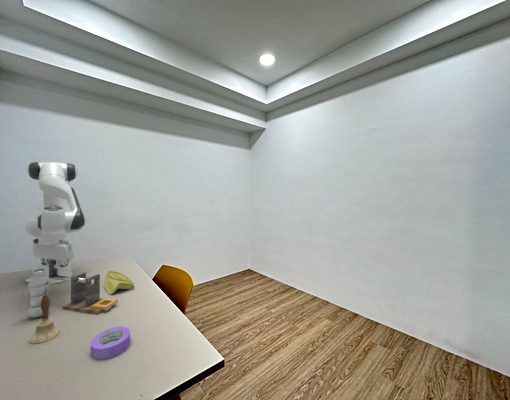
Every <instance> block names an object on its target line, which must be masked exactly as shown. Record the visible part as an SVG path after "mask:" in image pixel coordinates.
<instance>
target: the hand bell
mask: <svg viewBox="0 0 510 400" xmlns="http://www.w3.org/2000/svg"><path fill="white" fill-rule="evenodd" d="M40 306H41V310H42V316H41V321H39V322H38V323H37V324H36V329H35V332H34V334H33V335H31V337H30V338H29V339H28V343H29V344H32V345H33V344H34V345H35V344H36V345H37V344H42V343H45V342H48V341H50V340H53V339H54V338H56V337H57V336H58V335H59V334H60V332H61V330H60V329H59V328H58V327H56V326H55V324H54V323H55V322H54V319H51V318H49V312H48V309H49V306H50V307H51V299H50V297H49V293H48V294H44V295H43V297H42V299H41V303H40Z"/></svg>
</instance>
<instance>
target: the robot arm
mask: <svg viewBox="0 0 510 400" xmlns="http://www.w3.org/2000/svg"><path fill="white" fill-rule="evenodd" d="M26 171H27V174H28V176H29V177H30V178H31V179H32V180H35V181H38V187H39V190H41V191H42V192H43V193H42V195H43V197H42V198H43V202H42V203H43V208H42V212H41V214H39V215H38V216H35V217H31V218H29V219H28V220H27V221H26V223H25V226H24V228H25V231H26V232H27V233H28V234H30V235H31V236H32V237H35V238H33V239H32V244H33V246H32V254H33V257H34V258H39V259H40V265H38V266H36V267H35V268H34V269H33V270H32V271H31V276H30V277H27V278H26V279H25V281H26V283H28V282H30V280H31V279H32V278H33V277H34V276H33V271H34V270H38V269H45V272H46V274H45V275H46V276H47V277H48V278H49V261H50V260H56V265H54V268H58V275H61V276H69V277H72V276H74V272H72V265H71V262H70V260H72V259H74V248H73V245H72V243H71V242H70V241H69V240H67V238H66V234H71V233H75V232H79V231H81V230H83V228H84V226H85V224H86V217H85V215H84V213H83V210H82V208H81V204H80V202H79V199H78V197H77V194H76V191H75V189H74V188H73V187H72V186H69V184H70V182H72V181H73V180H75V179H76V177H77V176H78V170H77V167H76V165H74V164H73V163H70V162H67V163H66V162H57V161H53V162H52V161H49V162H47V161H46V162H45V161H44V162H43V161H41V162H39V161H35V162H34V161H33V162H31V163H29V164H28V167H27V170H26ZM67 182H68V183H67ZM49 280H50V283H49V285H53V284H57V283H62V282H66V281H65V280H57V279H51V278H49ZM25 281H24V282H25Z"/></svg>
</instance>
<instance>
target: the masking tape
mask: <svg viewBox="0 0 510 400" xmlns="http://www.w3.org/2000/svg"><path fill="white" fill-rule="evenodd" d="M114 340H116V341H114ZM110 341H113V342H111V343H107V342H110ZM105 343H106V344H105ZM130 344H131V329H130V328H129V327H126V326H114V327H110V328H108V329H105V330H103V331H101V332H99V333H98V334H96V335H95V336H94V337H93V338H92V340H91V341H90V356H91V357H92V358H93V359H97V360H105V359H109V358H112V357H115V356H117V355H119V354H121V353H123V352H124V351H125V350H126V349H127V348H128V347H129V346H130Z"/></svg>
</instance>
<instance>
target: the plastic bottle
mask: <svg viewBox="0 0 510 400" xmlns="http://www.w3.org/2000/svg"><path fill="white" fill-rule="evenodd" d="M33 270H34V269H33ZM33 270H32V271H33ZM45 274H46V272H45V269H38V270H34V271H33V276H34V277H33V278H32V279H31V280H30V282H29V283H27V285H28V291H29V296H30V303H29V308H28V311H27V313H28V316H29V318H32V319H36V318H42V310H41V306H40V303H41V299H42V297H43V295H44V294H48V295H49V288H50V284H49V283H50V280H49V278H48V277H47V276H46V275H45ZM50 309H51V305H50V306H49V309H48V313H49V312H50Z"/></svg>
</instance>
